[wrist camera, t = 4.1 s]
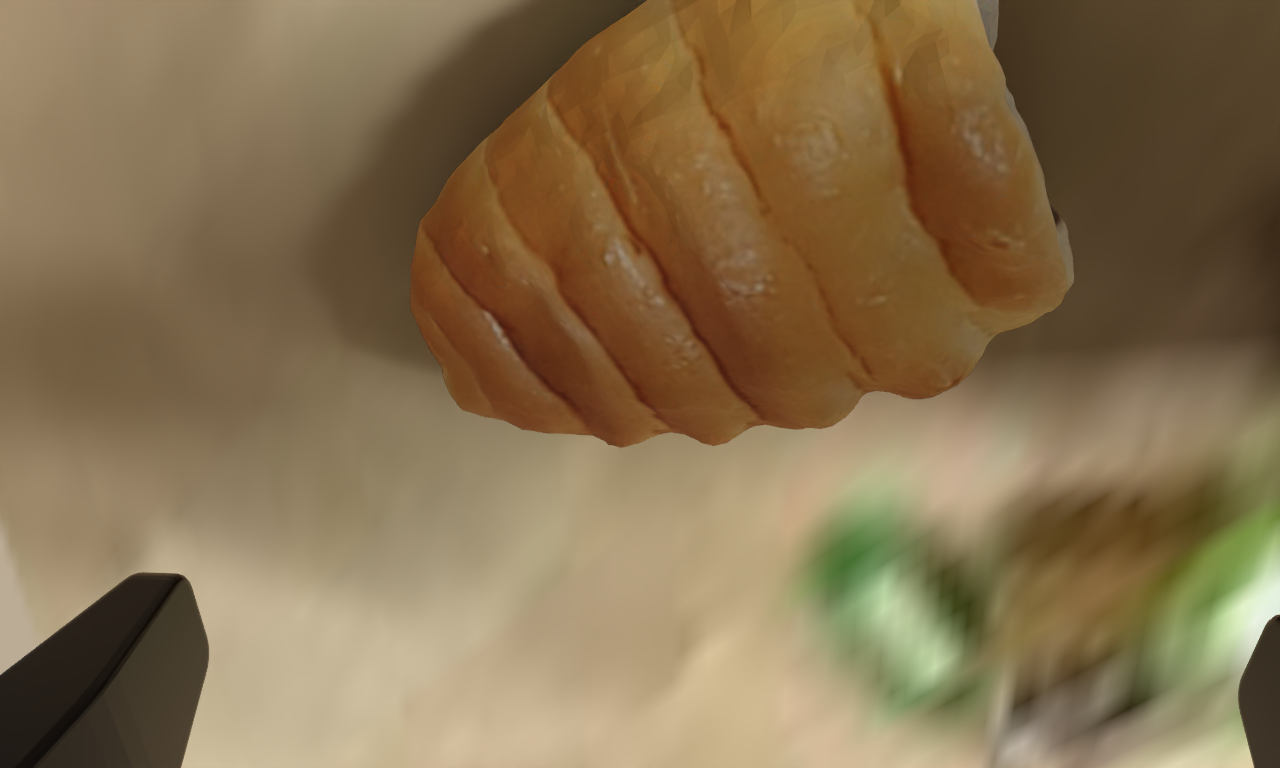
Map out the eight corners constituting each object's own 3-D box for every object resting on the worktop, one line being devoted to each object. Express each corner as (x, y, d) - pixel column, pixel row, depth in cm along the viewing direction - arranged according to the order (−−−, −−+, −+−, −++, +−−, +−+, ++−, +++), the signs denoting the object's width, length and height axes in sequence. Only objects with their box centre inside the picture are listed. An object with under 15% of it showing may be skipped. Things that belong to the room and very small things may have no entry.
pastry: (558, 446, 21) (531, 609, 18) (322, 137, 17) (239, 273, 14) (1082, 236, 18) (1160, 390, 15) (924, -192, 14) (983, -107, 11)
